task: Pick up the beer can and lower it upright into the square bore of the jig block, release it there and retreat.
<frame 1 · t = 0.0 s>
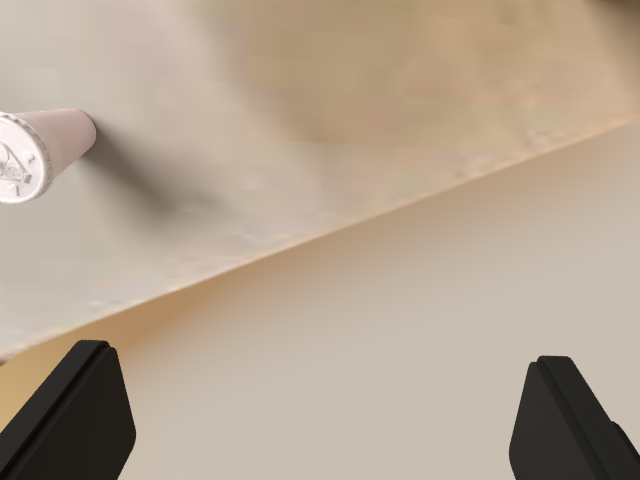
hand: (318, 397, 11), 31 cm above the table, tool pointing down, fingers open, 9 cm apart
smoothie: (76, 129, 41), on the table
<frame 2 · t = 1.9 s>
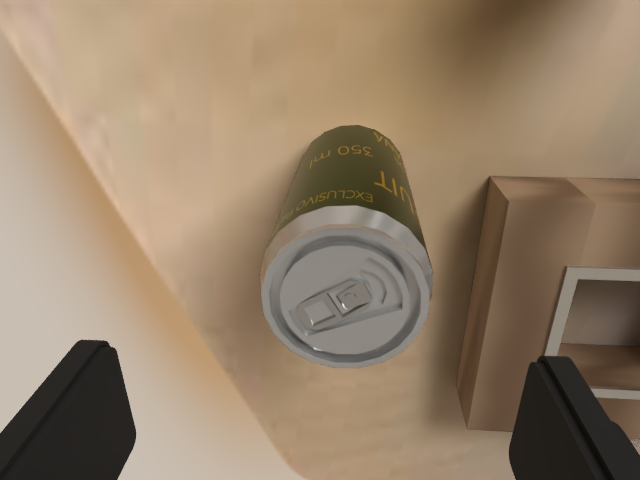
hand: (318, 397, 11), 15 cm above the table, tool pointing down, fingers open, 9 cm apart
jig: (597, 297, 26), on the table
beer can: (352, 172, 25), on the table
jig bore mouth: (630, 337, 23), on the jig, point 4 cm above the table
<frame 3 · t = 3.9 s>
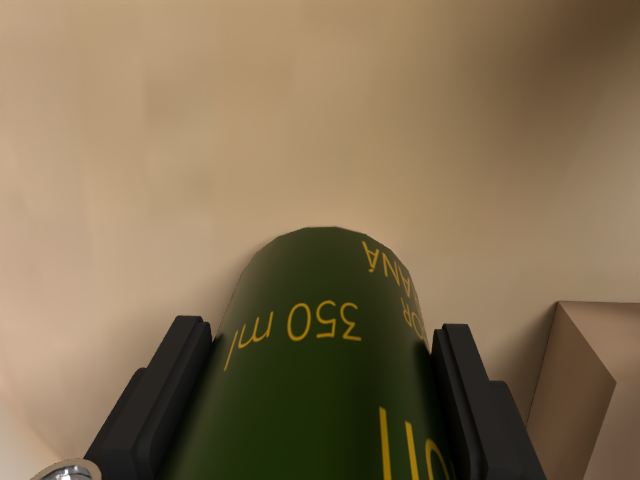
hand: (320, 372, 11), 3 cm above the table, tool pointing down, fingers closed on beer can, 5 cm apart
beer can: (327, 291, 15), on the table, touching gripper
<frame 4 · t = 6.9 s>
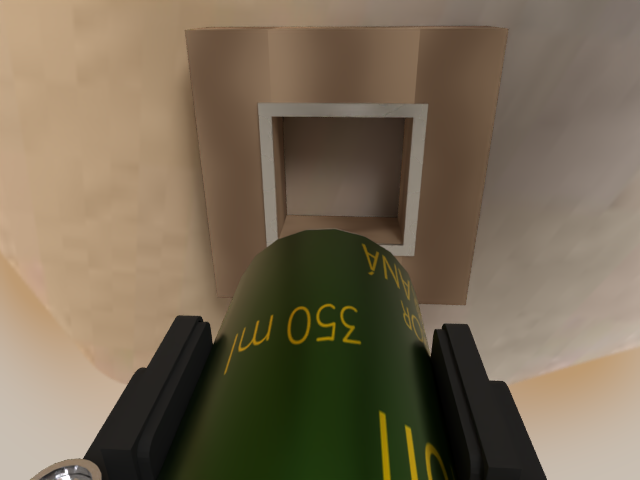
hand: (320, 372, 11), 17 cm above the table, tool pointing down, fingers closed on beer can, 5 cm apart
jig: (342, 162, 27), on the table
beer can: (327, 293, 15), point 13 cm above the table, touching gripper
jig bore mouth: (340, 183, 23), on the jig, point 3 cm above the table
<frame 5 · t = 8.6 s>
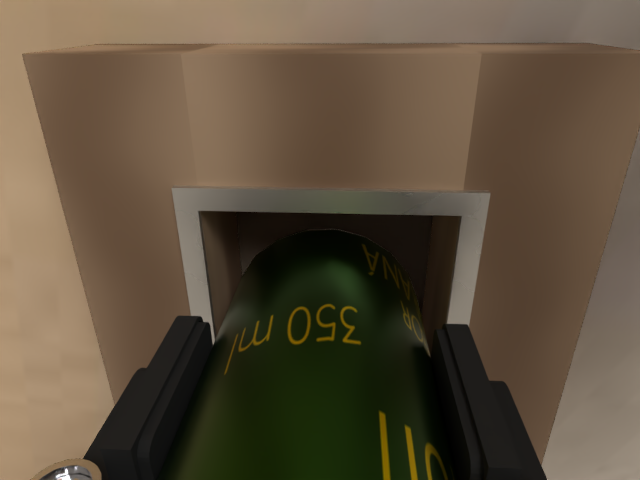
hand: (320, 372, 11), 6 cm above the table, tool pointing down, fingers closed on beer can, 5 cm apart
jig: (332, 259, 17), on the table
beer can: (327, 293, 15), point 2 cm above the table, touching gripper
jig bore mouth: (327, 319, 13), on the jig, point 4 cm above the table
when the fingers open (4 cm above the table, at t = 10.0 s): beer can stays where it is, resting in jig.
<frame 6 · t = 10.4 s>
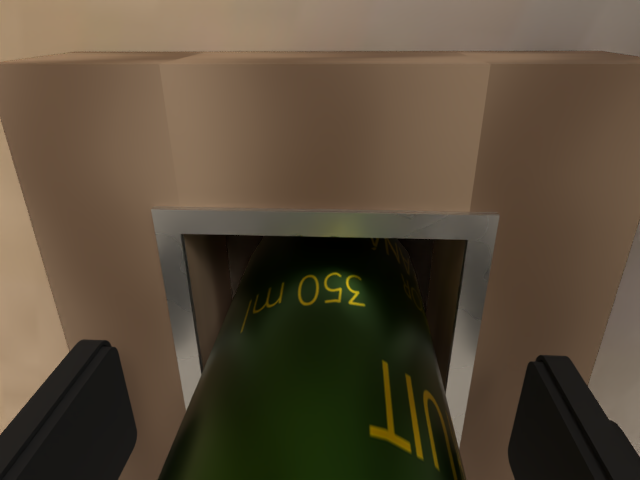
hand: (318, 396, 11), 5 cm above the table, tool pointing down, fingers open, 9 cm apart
jig: (328, 279, 16), on the table
beer can: (331, 273, 16), resting in jig
jig bore mouth: (322, 349, 12), on the jig, point 4 cm above the table
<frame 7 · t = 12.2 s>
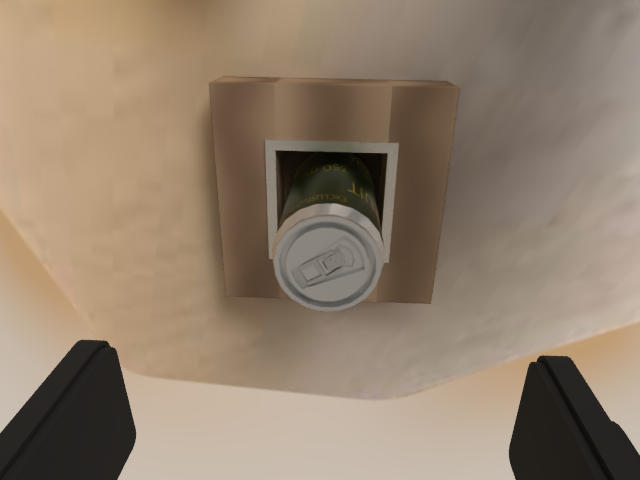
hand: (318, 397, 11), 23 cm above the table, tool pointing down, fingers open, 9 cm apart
jig: (331, 185, 32), on the table
beer can: (332, 183, 32), resting in jig
jig bore mouth: (330, 204, 29), on the jig, point 4 cm above the table
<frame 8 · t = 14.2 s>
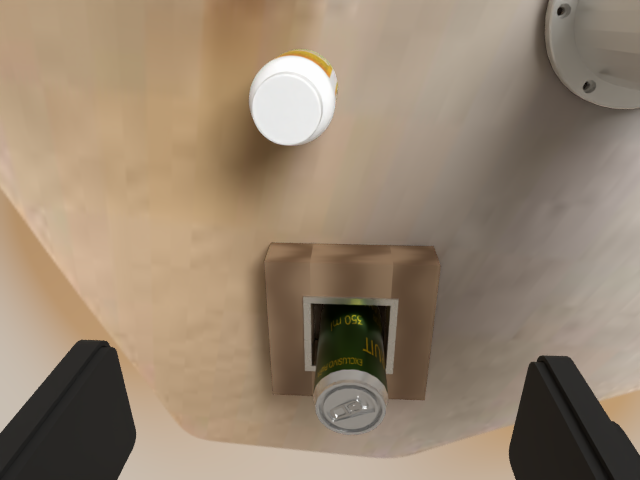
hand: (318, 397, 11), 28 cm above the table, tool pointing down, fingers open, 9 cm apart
jig: (349, 312, 44), on the table
supplement bottle: (302, 86, 35), on the table
beer can: (350, 310, 44), resting in jig
jig bore mouth: (349, 336, 40), on the jig, point 3 cm above the table
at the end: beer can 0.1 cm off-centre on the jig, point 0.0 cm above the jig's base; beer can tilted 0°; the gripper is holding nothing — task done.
